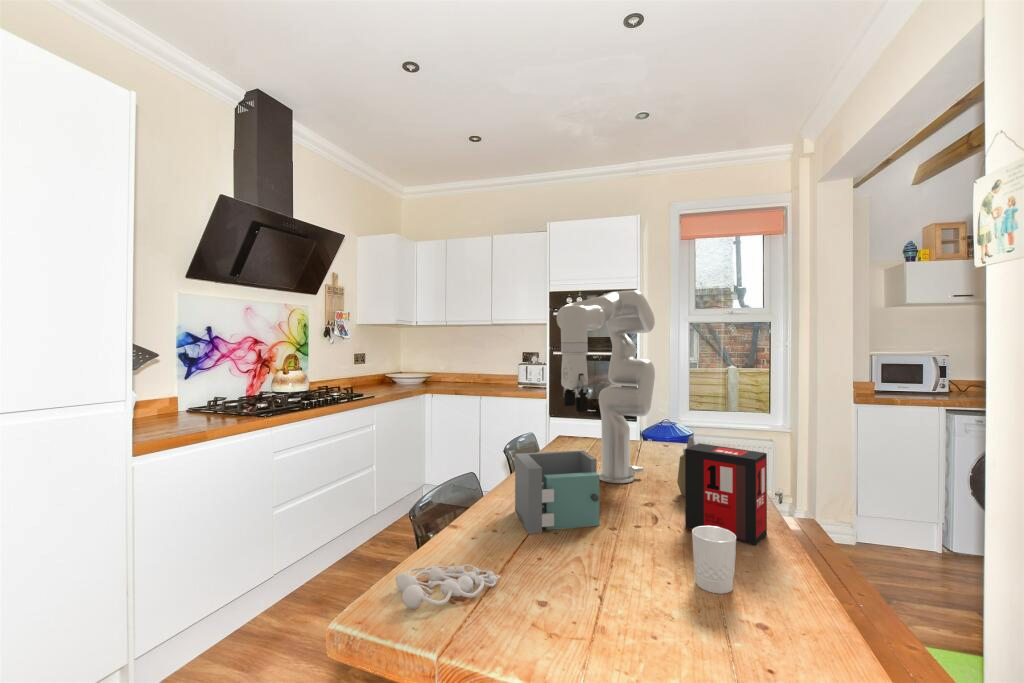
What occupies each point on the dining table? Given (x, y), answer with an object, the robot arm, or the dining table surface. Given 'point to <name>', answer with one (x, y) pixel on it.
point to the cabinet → (532, 483)
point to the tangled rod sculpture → (442, 584)
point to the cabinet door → (573, 500)
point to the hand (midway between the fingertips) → (575, 408)
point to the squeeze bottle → (683, 468)
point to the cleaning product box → (727, 490)
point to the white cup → (714, 558)
